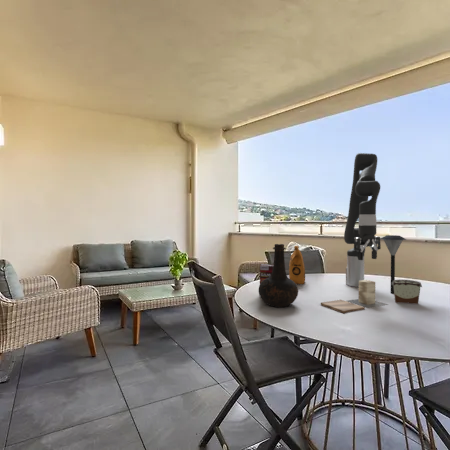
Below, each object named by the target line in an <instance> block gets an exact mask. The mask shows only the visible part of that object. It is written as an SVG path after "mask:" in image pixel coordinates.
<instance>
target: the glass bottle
mask: <svg viewBox="0 0 450 450" xmlns="http://www.w3.org/2000/svg"><path fill="white" fill-rule="evenodd" d="M272 249H273V250H274V252H273V253H274V256H273V264H272V265H273V270H272V274H271V276H270V277H269V278H267V279H265V280H263V281H262V282H261V283H260V282H259V285H258V295H259V297H260V299H261V300H262V302H264V303H265V305H269V306H271V307H276V308H283V307H284V308H285V307H288V306H291V305H292V304H293V303H294V302H295V301H296V300H297V298H298V295H299V288H298V286H297V285H298V284H295V282H294V281H292V280H291V279H290V278H289V276H288V274H287V272H286V263H285V262H286V261H285V250H287V248H286V247H285V244H283V243H279V244H278V243H276V244H274V246H273V247H272Z"/></svg>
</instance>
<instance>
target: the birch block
mask: <svg viewBox="0 0 450 450" xmlns="http://www.w3.org/2000/svg"><path fill="white" fill-rule="evenodd" d="M358 299H359V302H360V303H363V304H367V305H368V304H374V303H375V301H376V281H373V280H368V279H364V280H361V281H359V287H358Z"/></svg>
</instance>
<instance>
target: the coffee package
mask: <svg viewBox="0 0 450 450" xmlns="http://www.w3.org/2000/svg"><path fill="white" fill-rule="evenodd" d="M293 249H294V251H293V252H292V254H291V256H290V259H289V263H288V278H289V279H291V280H292V281H294V282H295V284H296V285H304V284H305V282H306V268H305V261H304V258H303V253H302V252H301V250H300V249H299V245H294V247H293Z"/></svg>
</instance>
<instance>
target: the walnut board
mask: <svg viewBox="0 0 450 450" xmlns="http://www.w3.org/2000/svg"><path fill="white" fill-rule="evenodd" d="M347 301H348V300H343V299H337V300H336V299H335V300H329V301H324V302H320V306H323V307H325V308H328V309H331V310H332V311H333V310H334V311H336V312H338V313H342V314H346V313H350V312H356V311H357V312H358V311H362V310H365V308H366V307H363V306H359V305H356V304H353V303H350V302H347Z"/></svg>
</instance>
